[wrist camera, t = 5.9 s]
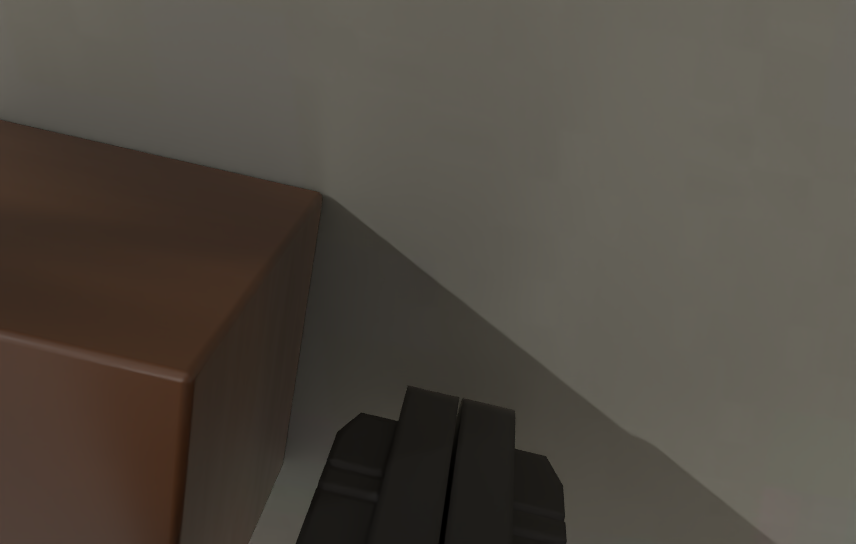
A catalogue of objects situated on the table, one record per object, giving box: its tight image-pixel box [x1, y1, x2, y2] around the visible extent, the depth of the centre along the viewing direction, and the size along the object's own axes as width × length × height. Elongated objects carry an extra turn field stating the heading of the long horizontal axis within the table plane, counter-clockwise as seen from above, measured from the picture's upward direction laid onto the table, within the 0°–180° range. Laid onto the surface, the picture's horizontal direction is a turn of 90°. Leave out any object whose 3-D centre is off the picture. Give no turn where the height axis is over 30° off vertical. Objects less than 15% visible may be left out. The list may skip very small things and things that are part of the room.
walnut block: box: [0, 120, 323, 544], centre depth 10 cm, size 5×5×5 cm
